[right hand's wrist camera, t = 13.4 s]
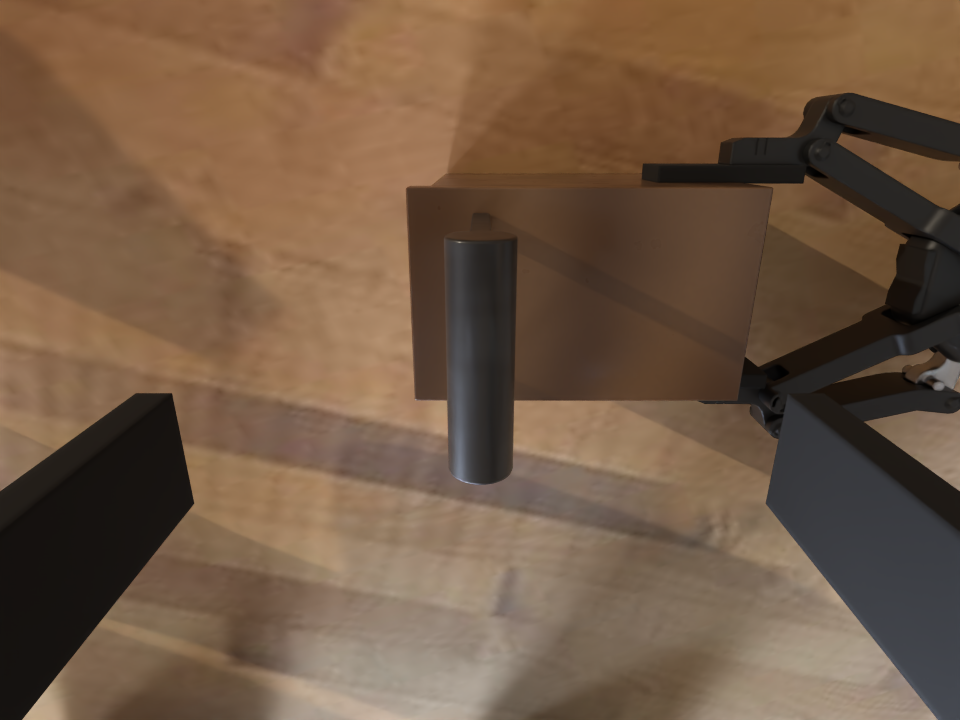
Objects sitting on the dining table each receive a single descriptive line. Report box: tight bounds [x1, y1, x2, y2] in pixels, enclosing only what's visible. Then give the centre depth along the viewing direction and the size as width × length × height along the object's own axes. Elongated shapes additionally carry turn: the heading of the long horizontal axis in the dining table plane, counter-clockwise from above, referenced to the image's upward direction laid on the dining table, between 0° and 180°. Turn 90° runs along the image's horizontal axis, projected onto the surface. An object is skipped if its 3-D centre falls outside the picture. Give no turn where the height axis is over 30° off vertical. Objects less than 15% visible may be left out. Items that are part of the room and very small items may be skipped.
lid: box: [406, 186, 773, 485], centre depth 21 cm, size 15×9×9 cm, turn 90°
